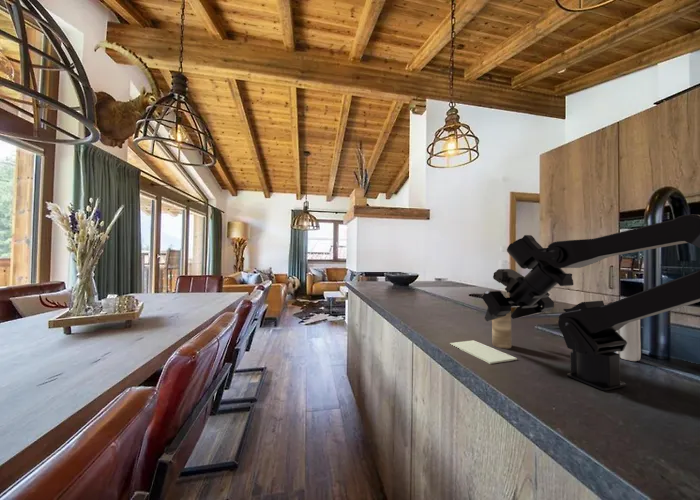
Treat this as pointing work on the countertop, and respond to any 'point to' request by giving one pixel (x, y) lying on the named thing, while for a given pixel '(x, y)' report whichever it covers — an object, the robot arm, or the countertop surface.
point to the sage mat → (483, 352)
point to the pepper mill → (502, 332)
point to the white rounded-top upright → (631, 341)
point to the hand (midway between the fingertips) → (499, 318)
